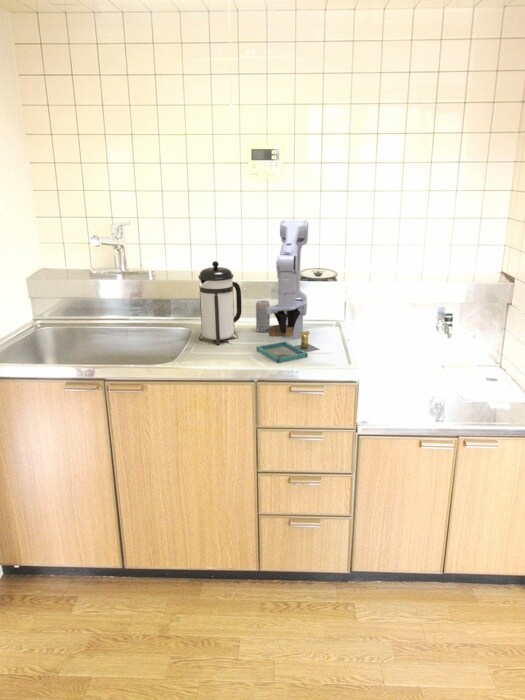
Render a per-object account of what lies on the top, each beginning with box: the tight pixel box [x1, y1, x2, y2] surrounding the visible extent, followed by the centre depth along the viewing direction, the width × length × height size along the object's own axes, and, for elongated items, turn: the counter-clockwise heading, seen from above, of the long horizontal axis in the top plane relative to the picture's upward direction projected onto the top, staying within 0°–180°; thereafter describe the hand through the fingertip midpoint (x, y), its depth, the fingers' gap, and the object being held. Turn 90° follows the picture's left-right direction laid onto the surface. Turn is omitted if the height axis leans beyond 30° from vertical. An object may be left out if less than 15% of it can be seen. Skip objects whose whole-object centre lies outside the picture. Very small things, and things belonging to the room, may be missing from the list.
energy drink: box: [255, 300, 271, 334], centre depth 205 cm, size 5×5×12 cm
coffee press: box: [197, 260, 242, 346], centre depth 194 cm, size 17×16×30 cm
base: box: [294, 343, 321, 353], centre depth 183 cm, size 8×8×1 cm
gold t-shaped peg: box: [300, 330, 310, 349], centre depth 182 cm, size 2×3×6 cm
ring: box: [268, 324, 293, 338], centre depth 175 cm, size 11×7×3 cm, turn 28°
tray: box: [256, 341, 309, 364], centre depth 178 cm, size 15×12×2 cm
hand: (286, 332), depth 172 cm, fingers closed on ring, 2 cm apart
